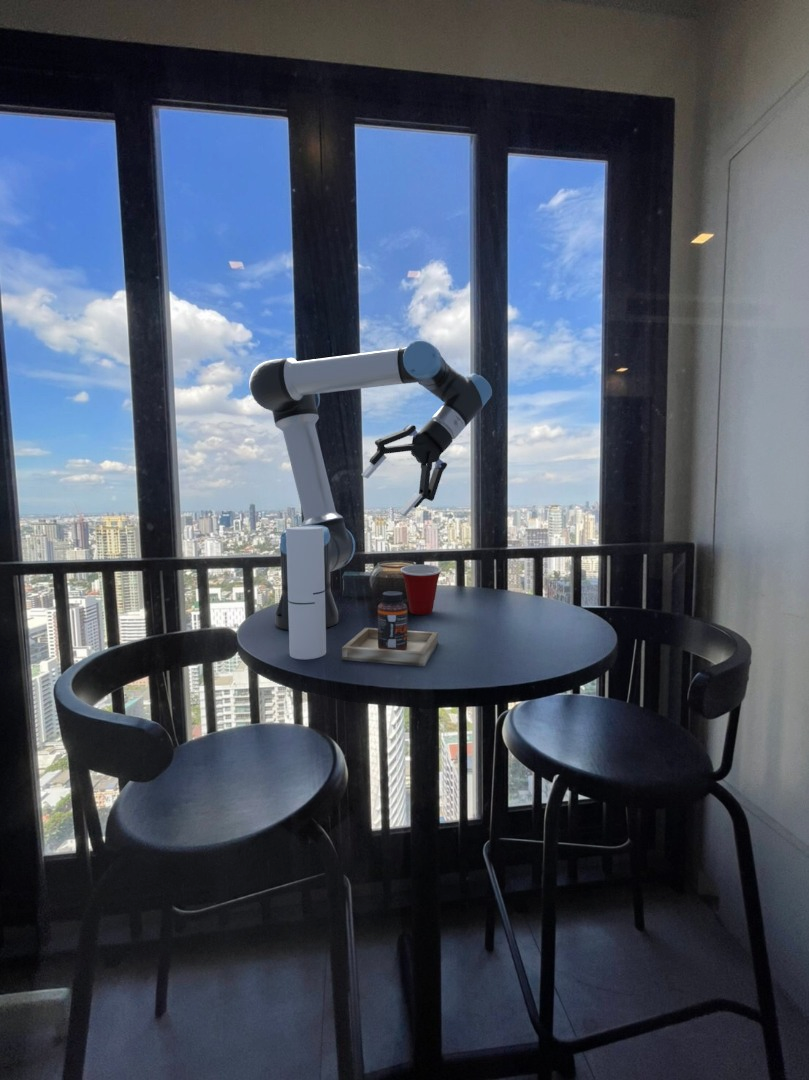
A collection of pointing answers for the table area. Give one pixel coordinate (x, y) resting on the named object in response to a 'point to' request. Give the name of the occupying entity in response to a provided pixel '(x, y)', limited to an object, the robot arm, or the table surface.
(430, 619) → the table surface
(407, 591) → the plastic cup
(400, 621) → the supplement bottle
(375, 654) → the tray
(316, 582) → the cylindrical container
